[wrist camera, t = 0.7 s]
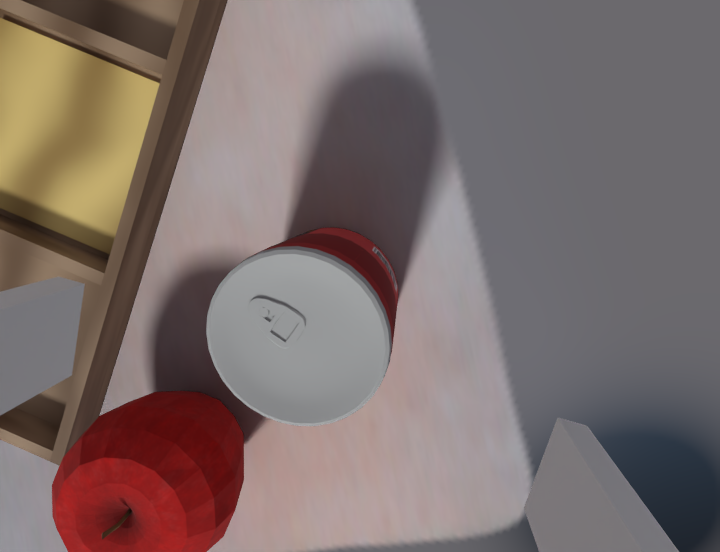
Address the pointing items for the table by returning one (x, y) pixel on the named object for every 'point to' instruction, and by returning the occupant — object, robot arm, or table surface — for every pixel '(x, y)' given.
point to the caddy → (90, 171)
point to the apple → (151, 477)
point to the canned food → (306, 327)
